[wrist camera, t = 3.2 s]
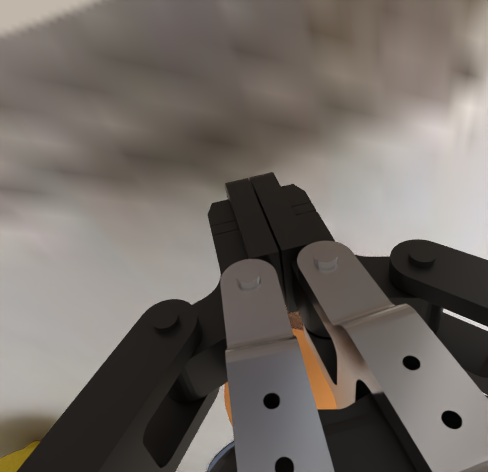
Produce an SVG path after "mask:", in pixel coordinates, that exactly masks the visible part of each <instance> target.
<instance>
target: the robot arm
mask: <svg viewBox="0 0 488 472" xmlns="http://www.w3.org/2000/svg"><path fill="white" fill-rule="evenodd" d="M225 188H226V193H227V198H228V200H224V201H220V202H215V203H212V205H211V207H210V210H209V212H208V218H209V223H210V227H211V232H212V236H213V240H214V245H215V249H216V253H217V258H218V262H219V266H220V271H221V278H220V281H219V283H218V285H217V287H216V288H215V290H214V291H213V292H212V293H211V294H209V295H208V296H207V297H205V298H204V299H202V300H200V301H198V302H197V303H195V304H193V305H191V304H190V303H188V302H186V301H184V300H179V299H171V300H165V301H162V302H159V303H157V304H155V305H153V306H152V307H150V308H149V309H148V310H147V311H146V312H145V313H144V314H143V315H142V316H141V318H140V319H139V320H138V321H137V322H136V324H135V325H134V326H133V327H132V329H131V330H130V331H129V332H128V334H127V335H126V336H125V337H124V339H123V340H122V341H121V342H120V344H119V345H118V346H117V347H116V349H115V350H114V351H113V352H112V353H111V355H110V356H109V357H108V358H107V360H106V361H105V362H104V363H103V365H102V366H101V367H100V368H99V370H98V371H97V372H96V373H95V375H94V376H93V377H92V378H91V380H90V381H89V382H88V383H87V385H86V386H85V387H84V388H83V389H82V391H81V392H80V393H79V394H78V396H77V397H76V398H75V399H74V401H73V402H72V403H71V404H70V406H69V407H68V408H67V409H66V411H65V412H64V413H63V414H62V416H61V417H60V418H59V419H58V421H57V422H56V423H55V424H54V425H53V427H52V428H51V429H50V430H49V432H48V433H47V434H46V435H45V437H44V438H43V439H42V440H41V442H40V443H39V444H38V445H37V447H36V448H35V449H34V450H33V452H32V453H31V454H30V455H29V456H28V458H27V459H26V460H25V461H24V463H23V464H22V465H21V466H20V468H19V469H18V470H17V471H16V472H175V471H176V469H177V467H178V466H179V464H180V462H181V460H182V458H183V456H184V455H185V453H186V451H187V449H188V447H189V446H190V444H191V442H192V440H193V438H194V437H195V435H196V433H197V431H198V429H199V427H200V426H201V424H202V422H203V420H204V418H205V417H206V415H207V413H208V411H209V409H210V408H211V406H212V404H213V402H214V400H215V399H216V397H217V394H218V392H219V387H220V386H222V385H223V384H225V383H226V382H228V387H229V396H230V406H231V415H232V425H233V434H234V444H235V445H233V446H232V447H231V448H230V449H228V450H227V451H226V452H225V453H224V454H223V455H222V456H221V457H220V458H219V460H218V461H217V462H216V463H215V465H214V466H213V467H212V468H211V470H210V471H209V472H488V396H486V395H484V394H483V393H485V394H487V395H488V331H486V330H483V329H481V328H479V327H476V326H474V325H472V324H469V323H467V322H465V321H462V320H460V319H457V318H455V317H453V316H450V315H448V314H446V313H443V308H444V309H447V310H449V311H451V312H454V313H456V314H459V315H461V316H463V317H466V318H468V319H471V320H473V321H475V322H478V323H480V324H483V325H485V326H487V327H488V260H486V259H483V258H480V257H477V256H474V255H471V254H468V253H465V252H462V251H459V250H456V249H453V248H450V247H447V246H444V245H441V244H438V243H435V242H431V241H427V240H408V241H404V242H402V243H399V244H398V245H396V246H395V247H394V248H393V250H392V251H391V255H390V257H364V256H358V255H354V254H353V252H352V251H351V250H350V249H349V248H348V247H346V246H345V245H343V244H341V243H338V242H335V240H334V239H333V237H332V235H331V234H330V232H329V230H328V229H327V227H326V225H325V224H324V222H323V220H322V219H321V217H320V215H319V214H318V212H316V209H315V207H314V206H313V204H312V203H311V201H310V199H309V197H308V196H307V194H306V192H305V191H304V190H302V189H300V188H299V187H297V186H295V185H294V184H291V185H287V186H282V187H281V186H280V184H279V183H278V181H277V179H276V177H275V175H274V173H273V172H271V173H267V174H263V175H258V176H254V177H250V178H249V179H248V178H246V179H242V180H238V181H233V182H229V183H225ZM285 305H286V306H285ZM286 307H287V309H286ZM287 310H288V313H291V312H295V311H298V312H299V314H300V316H301V319H302V326H303V334H304V336H305V338H306V340H307V342H308V344H309V346H310V348H311V350H312V352H313V354H314V356H315V358H316V360H317V362H318V364H319V367H320V369H321V371H322V373H323V375H324V377H325V379H326V381H327V383H328V385H329V387H330V389H331V391H332V393H333V396H334V398H335V401H336V405H337V409H317V407H316V403H315V400H314V396H313V392H312V389H311V385H310V382H309V378H308V375H307V371H306V367H305V364H304V360H303V357H302V353H301V349H300V346H299V343H298V340H297V337H296V336H294V335H293V331H292V328H291V324H290V320H289V317H288V313H287ZM482 392H483V393H482Z"/></svg>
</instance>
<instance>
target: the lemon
mask: <svg viewBox="0 0 488 472" xmlns="http://www.w3.org/2000/svg"><path fill="white" fill-rule="evenodd" d="M40 442H41V441H34V442H32V443H30V444H29V445H28V446H27V447H25V448H24V449H22V450H19V451H15V452H13V453H11V454H9V455H6V456H4V457H2V458H1V459H0V472H16V471H17V470H18V469H19V468H20V466H21V465H22V464H23V463H24V461H25V460H26V459H27V458H28V456H29V455H30V454H31V453H32V452H33V450H34V449H35V448H36V447H37V445H38V444H39V443H40Z"/></svg>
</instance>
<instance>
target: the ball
mask: <svg viewBox="0 0 488 472" xmlns="http://www.w3.org/2000/svg"><path fill="white" fill-rule="evenodd" d="M292 331H293V335H294V336H296V337H297V340H298V343H299V346H300V349H301V353H302V357H303V360H304V364H305V367H306V371H307V375H308V378H309V382H310V385H311V389H312V392H313V396H314V400H315V403H316V407H317V409H337V405H336V401H335V398H334V396H333V393H332V391H331V389H330V387H329V385H328V383H327V381H326V379H325V377H324V375H323V373H322V371H321V369H320V367H319V364H318V362H317V360H316V358H315V356H314V354H313V352H312V350H311V348H310V346H309V344H308V342H307V340H306V338H305V336H304V334H303V331H302V330H298V329H293V328H292ZM224 397H225V406H226V410H227V414H228V417H229V420H230V422H231V425H232V415H231V406H230V396H229V387H228V382H226V383H225V389H224ZM232 426H233V425H232Z"/></svg>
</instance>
